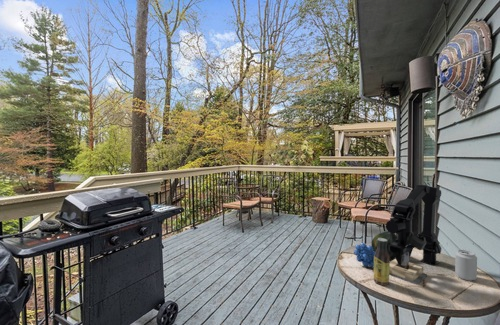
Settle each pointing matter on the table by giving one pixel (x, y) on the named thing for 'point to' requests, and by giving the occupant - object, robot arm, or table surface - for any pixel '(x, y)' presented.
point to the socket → (407, 272)
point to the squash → (390, 238)
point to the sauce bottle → (381, 263)
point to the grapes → (365, 254)
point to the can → (466, 265)
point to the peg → (405, 261)
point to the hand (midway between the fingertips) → (404, 261)
